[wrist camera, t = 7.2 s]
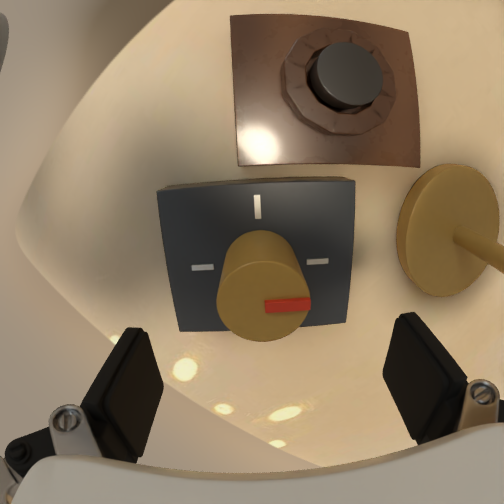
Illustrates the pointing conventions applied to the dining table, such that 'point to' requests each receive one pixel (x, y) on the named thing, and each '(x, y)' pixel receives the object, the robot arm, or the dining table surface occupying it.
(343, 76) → the power button
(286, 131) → the switch block
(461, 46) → the dining table surface
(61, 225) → the dining table surface
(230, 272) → the dimmer knob
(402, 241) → the lamp
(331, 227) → the dimmer panel
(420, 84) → the dining table surface
